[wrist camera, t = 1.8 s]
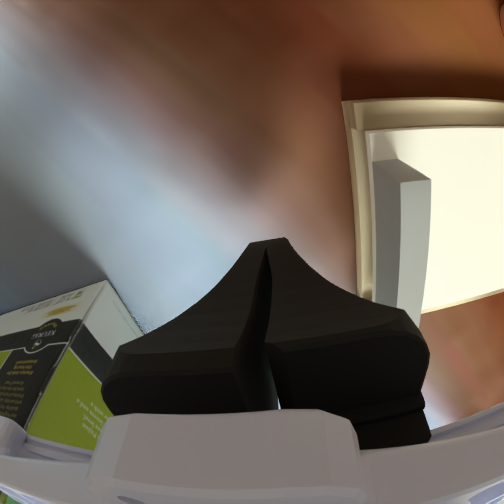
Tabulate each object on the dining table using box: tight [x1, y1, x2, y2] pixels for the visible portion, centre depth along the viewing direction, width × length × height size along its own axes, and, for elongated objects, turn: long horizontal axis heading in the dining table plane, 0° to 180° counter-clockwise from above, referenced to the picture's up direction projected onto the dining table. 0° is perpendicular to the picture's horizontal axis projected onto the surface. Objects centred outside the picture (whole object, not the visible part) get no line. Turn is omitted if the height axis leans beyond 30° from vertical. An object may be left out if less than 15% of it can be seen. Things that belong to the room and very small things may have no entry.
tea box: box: [0, 280, 144, 504], centre depth 13 cm, size 15×10×15 cm
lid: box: [365, 126, 504, 327], centre depth 10 cm, size 10×8×3 cm
